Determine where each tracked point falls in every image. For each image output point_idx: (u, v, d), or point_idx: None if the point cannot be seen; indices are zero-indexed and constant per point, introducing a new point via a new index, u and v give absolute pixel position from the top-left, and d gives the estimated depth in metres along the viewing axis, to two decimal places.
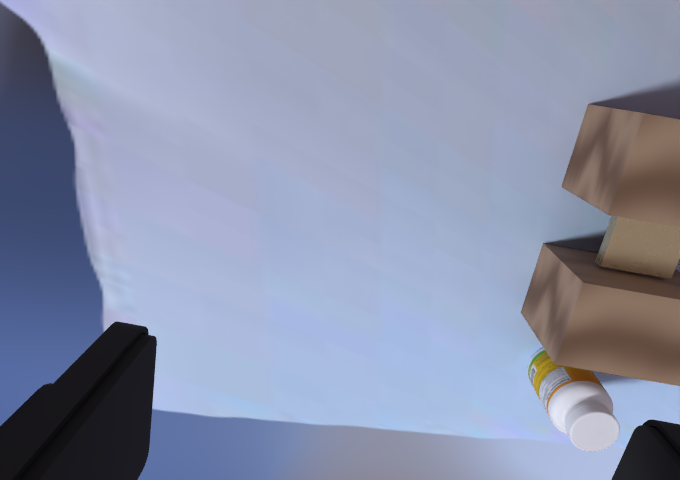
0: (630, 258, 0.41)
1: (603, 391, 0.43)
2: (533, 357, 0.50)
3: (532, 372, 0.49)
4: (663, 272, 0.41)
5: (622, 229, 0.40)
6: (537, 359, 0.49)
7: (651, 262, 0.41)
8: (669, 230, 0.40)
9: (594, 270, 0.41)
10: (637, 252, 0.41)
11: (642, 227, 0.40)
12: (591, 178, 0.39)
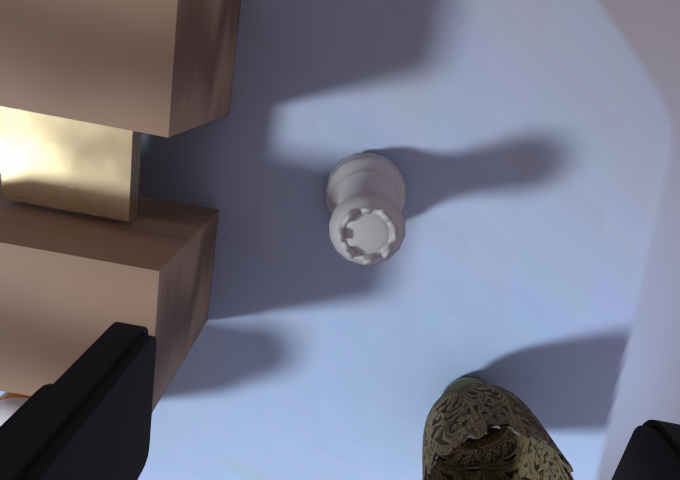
0: (47, 184, 0.23)
1: None
2: None
3: None
4: (111, 209, 0.24)
5: (13, 129, 0.23)
6: None
7: (84, 190, 0.23)
8: (94, 131, 0.22)
9: None
10: (54, 172, 0.23)
11: (46, 124, 0.22)
12: None
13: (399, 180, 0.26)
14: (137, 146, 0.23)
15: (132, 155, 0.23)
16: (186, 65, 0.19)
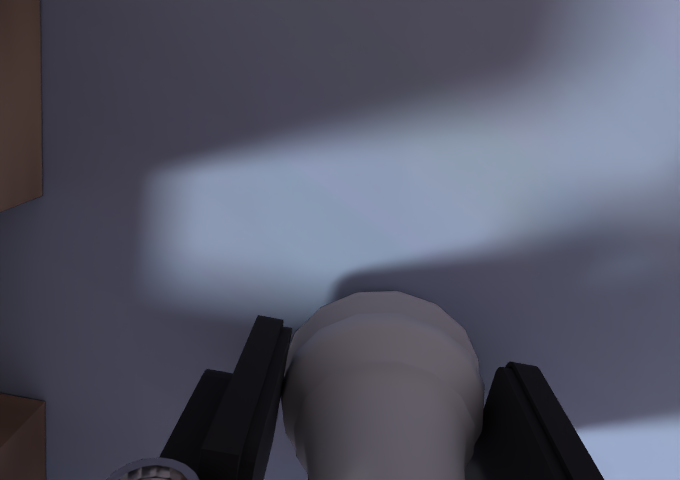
0: None
1: None
2: None
3: None
4: None
5: None
6: None
7: None
8: None
9: None
10: None
11: None
12: None
13: (472, 378, 0.10)
14: None
15: None
16: None
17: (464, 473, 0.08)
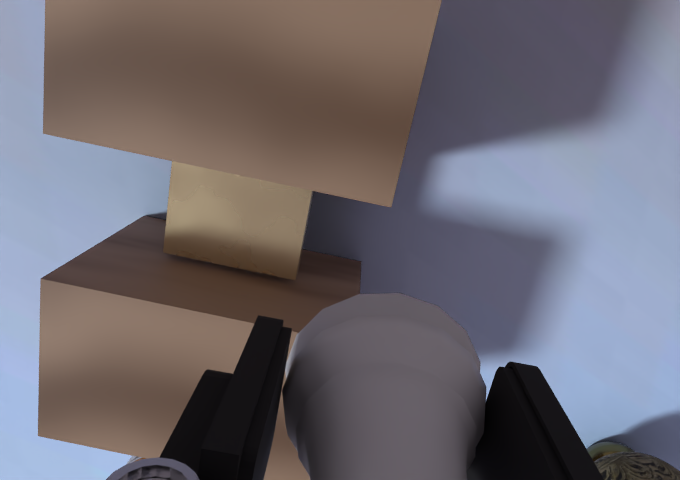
0: (213, 239, 0.22)
1: None
2: None
3: None
4: (278, 267, 0.22)
5: (185, 182, 0.21)
6: None
7: (252, 247, 0.22)
8: (271, 187, 0.21)
9: (144, 259, 0.22)
10: (223, 228, 0.22)
11: (221, 178, 0.21)
12: None
13: (474, 380, 0.10)
14: (311, 201, 0.22)
15: (308, 211, 0.22)
16: None
17: (466, 475, 0.08)
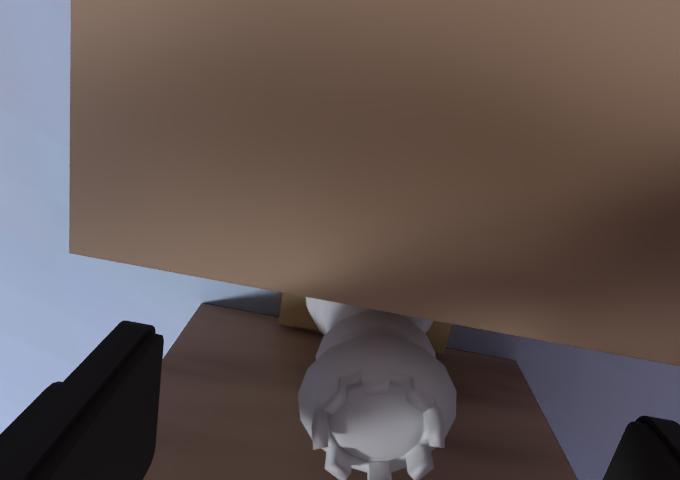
0: None
1: None
2: None
3: None
4: None
5: None
6: None
7: None
8: None
9: (227, 407, 0.14)
10: None
11: None
12: None
13: None
14: None
15: None
16: None
17: None
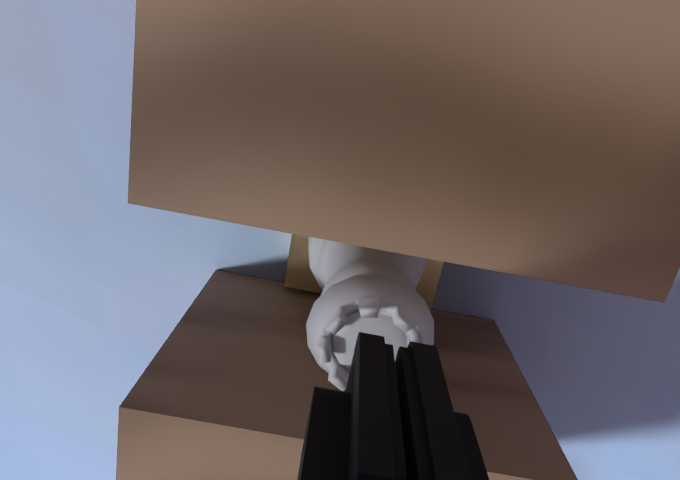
0: None
1: None
2: None
3: None
4: None
5: None
6: None
7: None
8: None
9: (243, 349, 0.16)
10: None
11: None
12: None
13: None
14: None
15: None
16: None
17: (409, 269, 0.16)
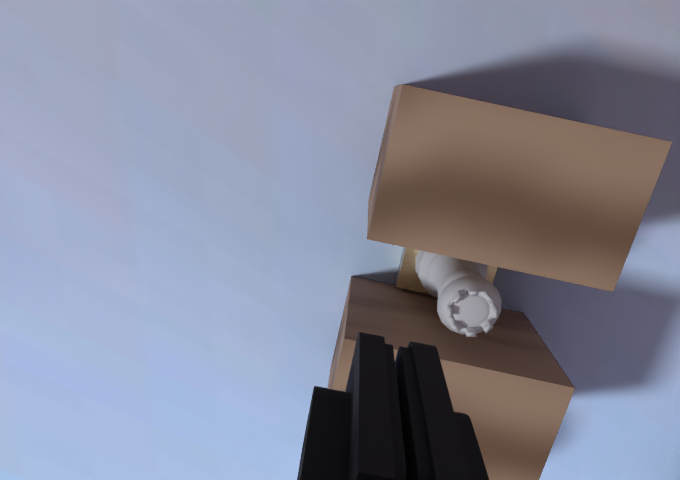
0: None
1: None
2: None
3: None
4: None
5: None
6: None
7: None
8: None
9: (388, 318, 0.29)
10: None
11: None
12: (374, 187, 0.27)
13: None
14: None
15: None
16: None
17: None
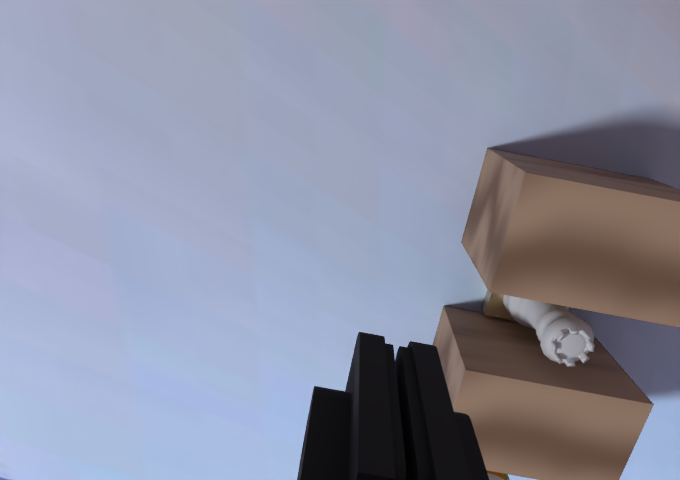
0: None
1: None
2: None
3: None
4: None
5: None
6: None
7: None
8: None
9: (489, 347, 0.35)
10: None
11: None
12: (482, 241, 0.33)
13: None
14: None
15: None
16: None
17: None
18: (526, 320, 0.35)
